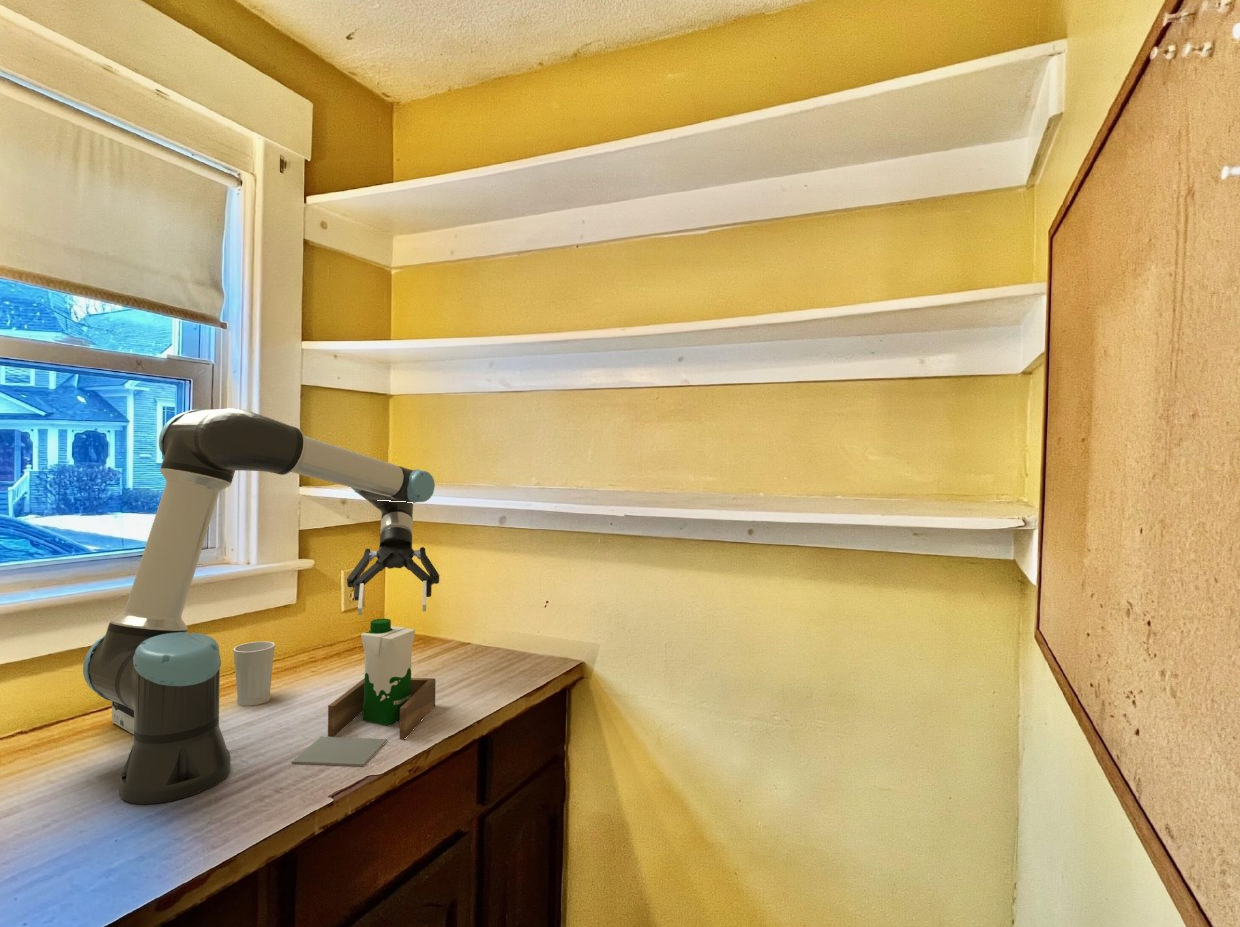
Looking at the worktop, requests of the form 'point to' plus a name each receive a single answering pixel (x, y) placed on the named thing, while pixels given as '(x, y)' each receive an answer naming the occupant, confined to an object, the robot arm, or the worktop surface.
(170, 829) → the worktop surface
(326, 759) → the mat
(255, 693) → the cup
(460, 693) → the worktop surface
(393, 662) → the soya milk
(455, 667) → the worktop surface
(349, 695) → the wooden tray
